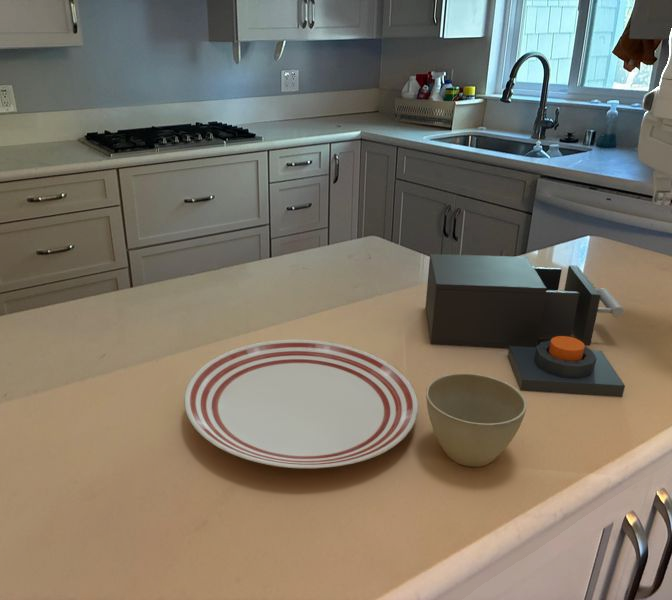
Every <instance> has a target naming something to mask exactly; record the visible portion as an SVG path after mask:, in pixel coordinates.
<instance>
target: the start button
mask: <svg viewBox="0 0 672 600" xmlns="http://www.w3.org/2000/svg"><path fill="white" fill-rule="evenodd" d="M585 347H586V346H585V345H584V343H583V342H582V341H580V340H578V339H577V337H572V336H571V337H567V336H557V337H553V338H552V339H551V342H550V347H549V354H550V355H551V356H553V357H555V358H558V359H561V360H565V361H579V360H582V358H583V353H584V348H585Z"/></svg>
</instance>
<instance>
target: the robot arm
mask: <svg viewBox="0 0 672 600" xmlns="http://www.w3.org/2000/svg"><path fill="white" fill-rule="evenodd" d="M668 45H669V55H668V61H667V64H666V66H665V67H664V69H663V71H662V73H661V77H660V80H659V84H658V85H659V86H657V87H656V88H654V89H652V91H649V92H647V93H646V94H645V95H644V96H643V100H642V103H641V104H642V105H641V109H642V110H643V111H644V112H645V113H644V115H643V117H642V121H641V124H640V125H641V126H640V130H639V137H638V144H637V159H638V161H639V162H640V163H641V164H643V165H644V166H645V165H646V166H648V167H649V168H651V169H653V175H652V180H653V181H652V182H653V195H652V202H653V203H654V204H655V205H657V206H669V205H670V204H671V202H672V191H671V189H672V29H671V31H670V34H669V40H668ZM671 214H672V211H671Z"/></svg>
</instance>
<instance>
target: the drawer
mask: <svg viewBox="0 0 672 600" xmlns="http://www.w3.org/2000/svg"><path fill="white" fill-rule="evenodd" d="M533 267H534V269H535V271H536V272H537V274H538V275H539V277H540V279H541V280H542V282H543V283H544V285H545V287H546V288H547V290H546V296H545V302H544V308H543V314H542V319H541V325H540V331H539V337H538V340H551V339H552V338H553V337H557V336H567V337H572V334H573V335H574V336H575V338H576V339H578V340H580V341H582V342H583V343H584V345H585V347H590V346H591V344H592V340H593V339H592V338H593V336H594V335H593V334H594V329H595V326H596V325H595V324H596V320H597V316H598V313H599V314H611V315H612V316H613V317H614V318H621V317H622V316H623V315H624V314H625V309H624V308H623V307H622V305H621V304H620V303H619V302H618V300H617V299H616V298H615V297H614V296H613V295H612V293H611V292H610V291H609V289H607V288H605V287H600V288H599V289H597V288H596V287H595V286H594V285H593V283H592V282H591V281H590V280H589V278H588V277H587V276H586V275H585V274H584V272H583V271H582V270H581V269H580V267H579V266H578V265H576V264H575V265H572V264H569V265H568V268H567V273H566V279H565V285H564V289H563V290H559V289H560V288H559V287H560V282H561V276H562V270H563V269H562V268H561V267H549V266H546V267H545V266H544V267H543V266H533ZM600 301H601V304H603V306H604V307H599V305H600Z"/></svg>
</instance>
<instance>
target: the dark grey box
mask: <svg viewBox="0 0 672 600" xmlns="http://www.w3.org/2000/svg"><path fill="white" fill-rule="evenodd" d="M534 267H535V266H533V264H532V262H531V261H530V260H529V258H528V256H507V255H474V254H449V253H448V254H447V253H446V254H445V253H443V254H441V253H430V254H429V261H428V274H427V284H426V296H425V297H426V298H425V306H424V307H425V309H424V310H425V316H426V323H427V330H428V335H429V343H430V345H433V346H450V347H468V348H469V347H470V348H485V349H486V348H487V349H488V348H489V349H502V350H503V349H505V350H509V346H522V347H537V346H538V344H539V343H538V342H539V339H538V337H539V331H540V325H541V319H542V314H543V308H544V302H545V296H546V290H547V288H546V287H545V285H544V283H543V282H542V280H541V279H540V277H539V275H538V274H537V272H536V271H535V269H534Z"/></svg>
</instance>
